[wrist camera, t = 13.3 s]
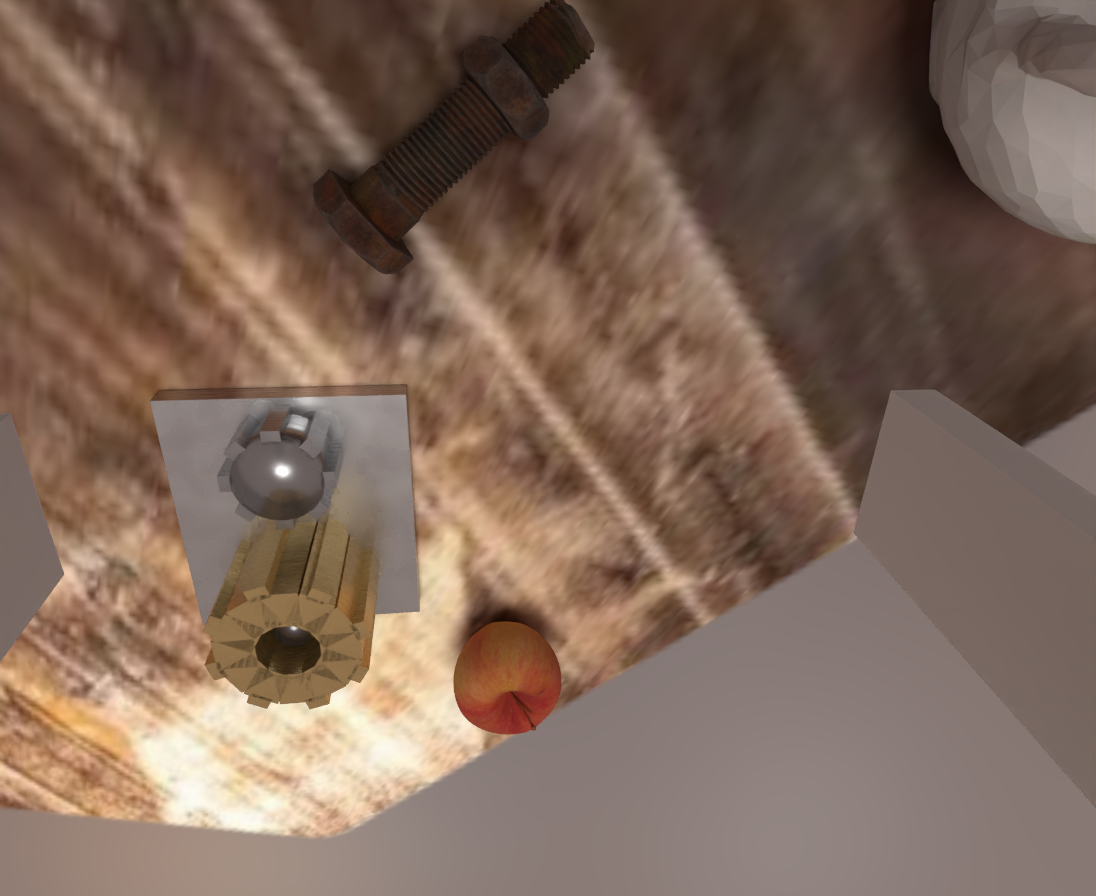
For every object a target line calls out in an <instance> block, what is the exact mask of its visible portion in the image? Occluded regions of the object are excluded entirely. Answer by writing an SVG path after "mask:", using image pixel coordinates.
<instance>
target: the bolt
mask: <svg viewBox="0 0 1096 896" xmlns="http://www.w3.org/2000/svg"><path fill="white" fill-rule="evenodd" d="M592 52H594V42H593V40H592V38H591V36H590V34H589V33H588V31H587V29H586V27H585V26H584V24H583V22H582V20H581V19H580V17H579V15H578V13H577V12H576V11H575V9H574V8H573V7H572V6H571V5H568V4H566V3H565V1H564V0H550V3H549V2H545V4H544V8H543V7H541V8H540V10H539V13H538V12H536V13H534V18H531V17H530V18H529V24H528V23H524V24H523V29H522V28H518V34H516V33H513V39H510V38H508V40H507V44H502V45H501V44H500V43H499V42H498V41H497V40H496V39H495V38H493V37H485V36H480V37H479V38H478V39H477V40H476V41H475V42H474V43H473V44H472V45H471V46H470V47H469V48H468V49H467V50H465V51H464V52H463V65H462V66H463V68H464V70H465V71H466V73H467V74H468V76H469V77H470V79H471V80H470V79H465V80H466V85H464V84H460V89H461V90H459V89H455V94H450V99H446V98H445V104H441V103H440V104H439V105H440V109H437V108H435V109H434V110H435V114H432V113H430V114H429V115H430V119H428V118H424V120H425V124H423V123H419V126H420V129H419V128H414V130H415V134H414V133H409V135H410V138H406V137H405V138H404V140H405V143H402V142H399V145H400V148H399V147H394V150H395V153H394V152H389V155H390V157H387V156H385V157H384V159H385V162H384V161H379V162H378V163H377V164H376V165H375V166H371V167H370V168H369V169H368V170H367V171H366V172H365V173H364V174H363V175H362V176H361V177H360V178H359V179H358V180H356V181H355V182H354V183H353V184H351V183H350V182H348V181H347V180H345V179H344V178H342V177H341V176H339V175H338V174H336V173H335V172H333V171H332V170H330V169H329V170H328V171H327V172H326V173H325V174H324V175H323V176H322V177H321V178H320V179H319V180H318V181H317V182H316V183H315V184H314V190H313V195H314V202H315V204H316V206H317V208H318V209H319V210H320V212H321V213H322V215H323V216H324V217H325V219H326V220H327V221H328V223H329V224H330V225H331V226H332V228H333V229H334V230H335V231H336V232H337V234H338V235H339V236H340V237H341V238H342V240H343V241H344V242H345V243H346V244H347V245H348V246H349V247H350V248H351V249H352V250H353V251H355V252H356V253H357V254H358V255H359V256H360V257H361V258H362V259H364V260H365V261H366V262H367V263H368V264H370V265H371V266H372V267H374V268H375V269H376V270H377V271H379V272H381V273H383V274H394V273H399V272H400V271H401V270H402V269H403V268H404V267H405V266H406V265H407V264H409V263H410V262H411V261H412V260H413V257H412V255H411V254H410V252H409V250H408V249H407V247H406V246H405V244H404V242H403V241H402V239H401V237H402V236H404V235H405V234H406V233H407V232H408V231H409V230H410V229H411V228H412V227H413V226H414V225H415V224H416V223H417V222H418V221H419V220H420V217H421V216H422V215H423V213H424V211H428V206H430V207H431V206H433V202H432V201H434V202H437V201H438V199H437V196H438V197H440V198H441V197H442V196H443V195H442V191H443V192H445V193H447V192H448V191H447V187H449V188H452V187H453V185H452V182H454V183H458V178H461V179H462V178H463V176H462V173H464V174H467V169H470V170H472V164H474V165H477V161H476V159H478V160H482V155H485V156H487V150H489V151H492V146H491V145H494V146H497V142H496V140H498V141H502V136H507V131H510V132H512V131H513V133H514V134H515V135H516V136H517V137H518V138H519V139H528V140H531V139H532V138H533V137H534V136H535V135H536V134H537V133H538V132H539V131H541V130H542V129H543V128H544V127H545V126H546V125H547V122H548V117H549V109H548V107H547V105H546V103H545V102H544V100H543V98H548V93H554V92H553V88H557V89H558V88H559V84H563V83H564V79H569V74H574V73H575V69H580V64H585V59H589V60H590V53H592ZM501 135H502V136H501ZM481 154H482V155H481Z"/></svg>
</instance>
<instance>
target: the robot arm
mask: <svg viewBox="0 0 1096 896" xmlns="http://www.w3.org/2000/svg"><path fill="white" fill-rule="evenodd" d="M854 534H855V535H856V536H857V537H858V539H859V540H860V541H861V542H862V543H863V544H864V545H865V546H866V548H867V549H868V550H869V551H870V552H871V553H872V554H873V556H874V557H875V558H876V559H877V560H878V561H879V562H880V563H881V565H882V566H883V567H884V568H885V569H886V570H887V571H888V572H889V574H890V575H891V576H892V577H893V578H894V579H895V581H896V582H897V583H898V584H899V585H900V586H901V587H902V588H903V590H904V591H905V592H906V593H907V594H908V595H909V596H910V598H911V599H912V600H913V601H914V602H915V603H916V604H917V606H918V607H919V608H920V609H921V610H922V611H923V612H924V613H925V615H926V616H927V617H928V618H929V619H930V620H931V621H932V623H933V624H934V625H935V626H936V627H937V628H938V629H939V630H940V632H941V633H942V634H943V635H944V636H945V637H946V639H947V640H948V641H949V642H950V643H951V644H952V645H953V646H954V648H955V649H956V650H957V651H958V652H959V653H960V654H961V656H962V657H963V658H964V659H965V660H966V661H967V662H968V664H969V665H970V666H971V667H972V668H973V669H974V670H975V671H976V673H977V674H978V675H979V676H980V677H981V678H982V679H983V680H984V682H985V683H986V684H987V685H988V686H989V687H990V689H991V690H992V691H993V692H994V693H995V694H996V695H997V696H998V698H999V699H1000V700H1001V701H1002V702H1003V703H1004V704H1005V705H1006V707H1007V708H1008V709H1009V710H1010V711H1011V712H1012V714H1013V715H1014V716H1015V717H1016V718H1017V719H1018V720H1019V722H1020V723H1021V724H1022V725H1023V726H1024V727H1025V728H1026V729H1027V731H1028V732H1029V733H1030V734H1031V735H1032V736H1033V737H1034V739H1035V740H1036V741H1037V742H1038V743H1039V744H1040V745H1041V746H1042V748H1043V749H1044V750H1045V751H1046V752H1047V753H1048V754H1049V756H1050V757H1051V758H1052V759H1053V760H1054V761H1055V762H1056V764H1057V765H1058V766H1059V767H1060V768H1061V769H1062V770H1063V772H1064V773H1065V774H1066V775H1067V776H1068V777H1069V778H1070V779H1071V780H1072V782H1073V783H1074V784H1075V785H1076V786H1077V787H1078V789H1079V790H1080V791H1081V792H1082V793H1083V794H1084V795H1085V796H1086V798H1088V800H1089V801H1090V802H1091V803H1092V804H1093V806H1095V808H1096V496H1095V495H1093V494H1092V493H1090V492H1089V491H1087V490H1086V489H1084V488H1083V487H1081V486H1080V485H1078V484H1077V483H1075V482H1073V481H1072V480H1070V479H1069V478H1067V477H1066V476H1064V475H1063V474H1061V473H1060V472H1058V471H1057V470H1055V469H1054V468H1052V467H1051V466H1049V465H1048V464H1046V463H1045V462H1043V461H1042V460H1040V459H1039V458H1037V457H1036V456H1034V455H1033V454H1031V453H1030V452H1028V451H1027V450H1025V449H1024V448H1022V447H1021V446H1019V445H1018V444H1016V443H1015V442H1013V441H1012V440H1010V439H1009V438H1007V437H1006V436H1004V435H1003V434H1001V433H1000V432H998V431H997V430H995V429H994V428H992V427H991V426H989V425H988V424H986V423H984V422H983V421H981V420H980V419H978V418H977V417H975V416H974V415H972V414H971V413H969V412H968V411H966V410H965V409H963V408H962V407H960V406H959V405H957V404H956V403H954V402H953V401H951V400H950V399H948V398H947V397H945V396H944V395H942V394H941V393H939V392H938V391H936V390H898V391H891V393H890V396H889V400H888V404H887V408H886V412H885V415H884V419H883V423H882V427H881V431H880V434H879V438H878V442H877V446H876V450H875V454H874V457H873V461H872V465H871V469H870V473H869V476H868V480H867V484H866V488H865V492H864V495H863V499H862V503H861V507H860V511H859V514H858V518H857V522H856V526H855V530H854ZM63 575H64V572H63V569H62V566H61V563H60V560H59V557H58V554H57V551H56V548H55V545H54V542H53V539H52V536H51V533H50V530H49V527H48V524H47V521H46V518H45V515H44V512H43V509H42V506H41V503H40V500H39V497H38V494H37V491H36V488H35V485H34V482H33V479H32V476H31V473H30V470H29V467H28V464H27V461H26V458H25V455H24V452H23V449H22V446H21V443H20V440H19V437H18V434H17V431H16V428H15V425H14V422H13V420H12V417H11V414H10V413H4V414H0V662H1V660H2V659H3V658H4V656H5V655H6V653H7V652H8V651H9V649H10V648H11V647H12V645H13V644H14V642H15V641H16V640H17V638H18V637H19V636H20V634H21V633H22V631H23V630H24V629H25V627H26V626H27V625H28V623H29V622H30V620H31V619H32V618H33V616H34V615H35V614H36V612H37V611H38V609H39V608H40V607H41V605H42V604H43V603H44V601H45V600H46V598H47V597H48V596H49V594H50V593H51V592H52V590H53V589H54V587H55V586H56V585H57V583H58V582H59V581H60V579H61V578H62V576H63Z"/></svg>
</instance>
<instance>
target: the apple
mask: <svg viewBox="0 0 1096 896" xmlns="http://www.w3.org/2000/svg"><path fill="white" fill-rule="evenodd" d="M560 691H561V671H560V666H559V663H558V660H557V657H556V655H555V653H554V651H553V649H552V648H551V646H550V645H549V644H548V642H547V641H546V640H545V639H544V638H543V637H542V636H541V635H540V634H539V633H538V632H537V631H535V630H534V629H532V628H530V627H529V626H526V625H524V624H521V623H517V622H505V621H504V622H492V623H489V624H487V625H486V626H484V627H483V628H481V629H480V630H479V631H477V632H476V633H475V634H474V635H473V636H472V637H471V638H470V639H469V641H468V642H467V643H466V645H465V646H464V648H463V649H462V651H461V653H460V655H459V658H458V660H457V663H456V667H455V671H454V693H455V698H456V701H457V704H458V707H459V709H460V711H461V712H462V714H463V715H464V717H465V718H466V719H467V720H468V721H469V722H471V723H472V724H474V725H475V726H477V727H479V728H481V729H483V730H486V731H489V732H492V733H498V734H519V733H524V732H527V731H529V730H536V726H537V725H539V724H540V723H541V722H542V721H543V720H544V719H545V718H546V717H547V716H548V715H549V714H550V712H551V711H552V710H553V708H554V707H555V705H556V703H557V701H558V699H559V695H560Z"/></svg>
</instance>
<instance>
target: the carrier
mask: <svg viewBox="0 0 1096 896" xmlns="http://www.w3.org/2000/svg"><path fill="white" fill-rule="evenodd" d="M150 403H151V407H152V411H153V416H154V420H155V424H156V428H157V433H158V437H159V441H160V445H161V449H162V454H163V458H164V462H165V466H166V471H167V475H168V479H169V483H170V487H171V492H172V496H173V500H174V504H175V509H176V513H177V517H178V521H179V525H180V530H181V534H182V538H183V542H184V546H185V551H186V555H187V559H188V563H189V568H190V572H191V576H192V580H193V584H194V589H195V593H196V597H197V601H198V606H199V610H200V614H201V618H202V622H203V625H205V624H206V622H207V619H208V617H209V615H210V612H211V610H212V607H213V605H214V602H215V600H216V598H217V595H218V593H219V590H220V588H221V585H222V583H223V581H224V578H225V576H226V573H227V571H228V568H229V566H230V564H231V561H232V559H233V556H234V554H235V552H236V550H237V548H238V546H239V544H240V543H241V542H243V543H245V544H248V545H251V543H252V541H254V539H255V538H257V537H259V536H261V535H263V534H264V533H265V531H266V528H267V525H268V523H269V520H274V521H275V527H276V530H281V529H294V528H295V525H296V523H307V522H316V524H318V523H321V524H324V525H325V523H326V521H327V520H328V518H331V519H333V520H336V521H338V522H341V523H343V524H346V525H347V526H346V531H345V533H347V534H349V535H348V537H349V536H351V537H352V538H353V539H354V540H355V541H356V543H357V544H358V545H359V546H360V547H361V548H362V550H363V551H367V550H370V549H374V552H375V554H376V556H377V558H378V561H379V563H380V564H379V573H378V581H377V590H376V592H377V593H378V594H377V603H376V611H375V614H387V613H403V612H419V611H420V588H419V572H418V556H417V539H416V523H415V507H414V491H413V475H412V459H411V443H410V427H409V411H408V395H407V385H377V386H333V387H289V388H244V389H200V390H159V391H158V392H157V393H156V394H155V396H154V397H153V398H152V399H151V400H150ZM310 634H311V633H310V632H308V631H306V630H303V629H300V628H297V627H294V626H288V627H276V628H275V631H274V635H275V638H276V639H277V641H278V642H280V643H281V644H283V645H285V646H289V647H297V646H301V645H303V644H305V643H306V642H307V641H308V640H309V638H310Z"/></svg>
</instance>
